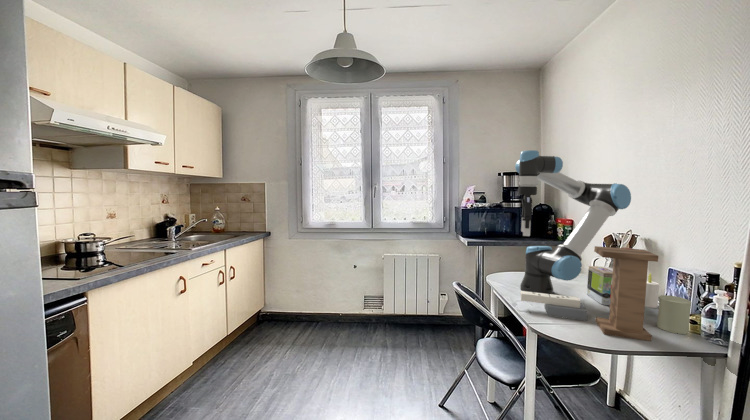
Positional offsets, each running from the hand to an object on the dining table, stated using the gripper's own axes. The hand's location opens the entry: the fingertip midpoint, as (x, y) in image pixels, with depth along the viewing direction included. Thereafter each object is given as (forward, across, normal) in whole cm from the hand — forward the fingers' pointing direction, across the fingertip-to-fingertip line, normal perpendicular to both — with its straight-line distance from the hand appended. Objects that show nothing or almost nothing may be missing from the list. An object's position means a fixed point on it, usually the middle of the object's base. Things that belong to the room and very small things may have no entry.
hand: (525, 233), depth 151 cm
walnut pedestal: (+32, +18, +32) cm, 49 cm away
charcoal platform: (+32, +7, +16) cm, 36 cm away
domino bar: (+28, +7, +10) cm, 30 cm away
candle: (+32, -20, +54) cm, 66 cm away
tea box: (+32, -20, +37) cm, 53 cm away
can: (+32, +8, +52) cm, 62 cm away
